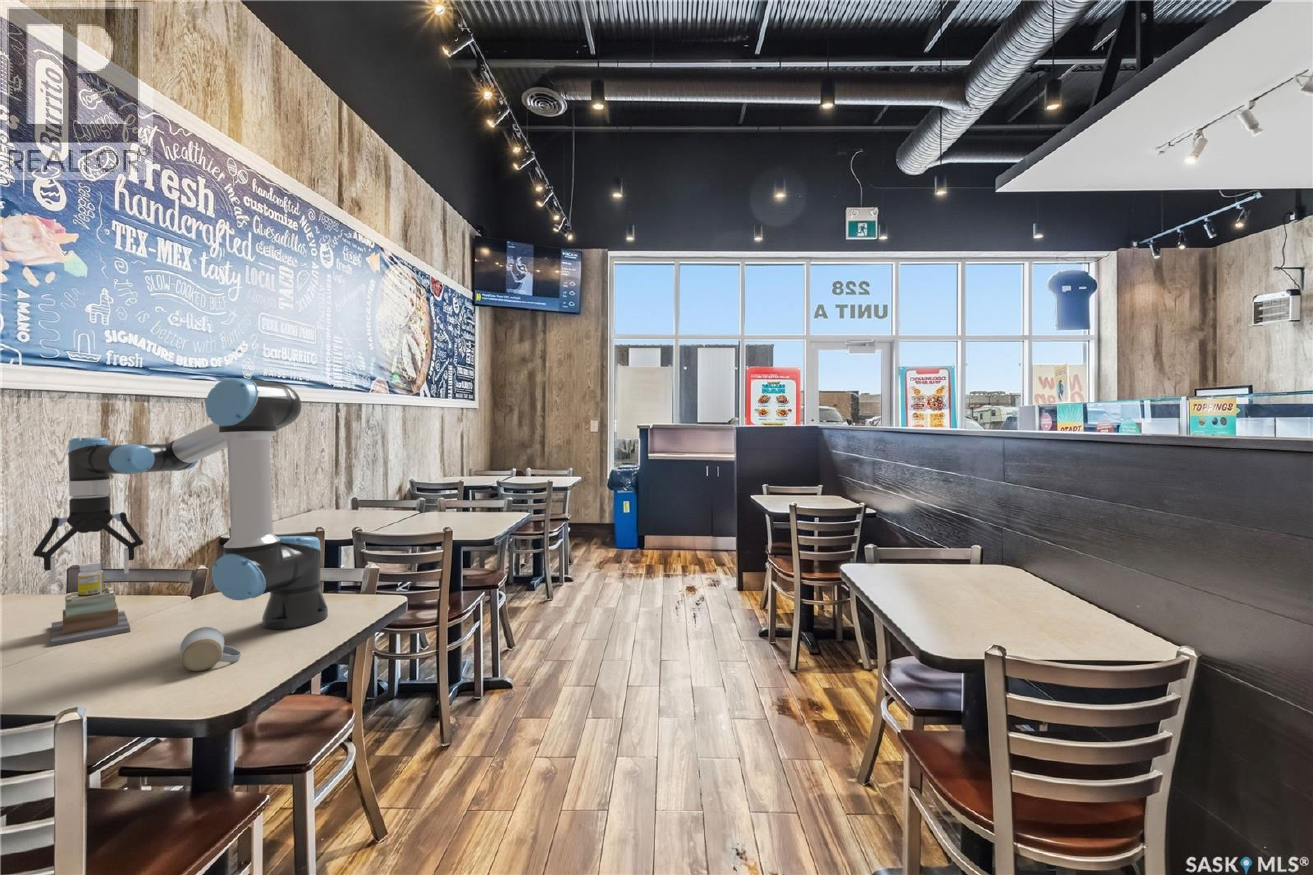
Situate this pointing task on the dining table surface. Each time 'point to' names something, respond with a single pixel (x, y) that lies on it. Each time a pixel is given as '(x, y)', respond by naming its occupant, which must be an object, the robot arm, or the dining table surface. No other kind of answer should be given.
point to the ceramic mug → (206, 649)
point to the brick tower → (89, 618)
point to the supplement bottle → (90, 580)
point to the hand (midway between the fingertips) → (91, 577)
